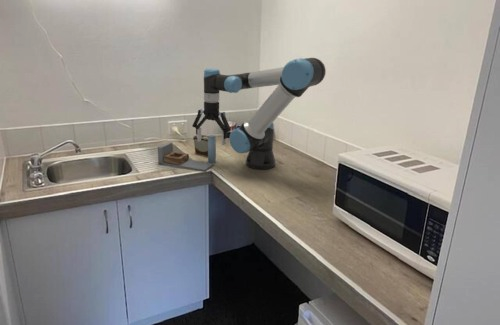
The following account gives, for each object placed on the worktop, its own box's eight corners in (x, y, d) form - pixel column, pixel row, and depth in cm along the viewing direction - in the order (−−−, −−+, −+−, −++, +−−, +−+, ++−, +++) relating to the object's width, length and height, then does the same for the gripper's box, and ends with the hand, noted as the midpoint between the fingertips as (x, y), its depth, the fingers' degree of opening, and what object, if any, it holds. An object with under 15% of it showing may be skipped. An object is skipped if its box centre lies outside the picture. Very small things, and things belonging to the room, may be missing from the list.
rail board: (169, 158, 199) (168, 141, 196) (213, 165, 191) (213, 148, 188) (158, 164, 190) (157, 147, 187) (204, 171, 182) (204, 154, 179)
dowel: (210, 160, 198) (210, 134, 193) (217, 161, 197) (217, 135, 192) (206, 162, 194) (206, 136, 190) (213, 164, 193) (213, 137, 188)
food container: (217, 154, 207) (217, 137, 204) (211, 157, 202) (210, 139, 199) (200, 150, 213) (200, 133, 210) (193, 153, 208) (192, 136, 205)
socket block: (173, 157, 197) (173, 151, 196) (188, 159, 194) (188, 153, 194) (164, 162, 189) (163, 156, 188) (179, 164, 187) (179, 159, 186)
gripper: (185, 99, 186) (186, 141, 193) (232, 105, 178) (230, 148, 185) (192, 97, 192) (193, 137, 199) (238, 102, 184) (236, 144, 192)
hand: (211, 142), depth 192 cm, fingers open, 13 cm apart
